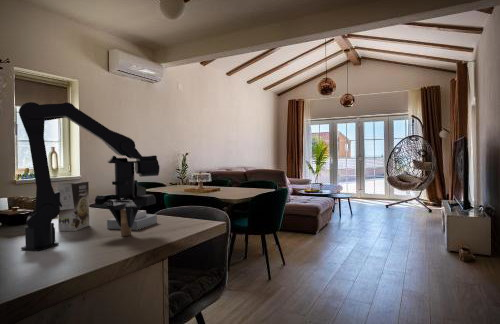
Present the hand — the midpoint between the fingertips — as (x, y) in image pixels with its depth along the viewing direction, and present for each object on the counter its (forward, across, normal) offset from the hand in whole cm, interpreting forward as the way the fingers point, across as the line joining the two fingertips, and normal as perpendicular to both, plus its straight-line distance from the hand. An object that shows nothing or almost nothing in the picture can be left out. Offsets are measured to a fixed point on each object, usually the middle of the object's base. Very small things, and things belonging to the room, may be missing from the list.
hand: (126, 227), depth 102 cm
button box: (+3, +7, -13) cm, 15 cm away
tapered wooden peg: (+2, 0, 0) cm, 2 cm away
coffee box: (+3, +25, -5) cm, 26 cm away
